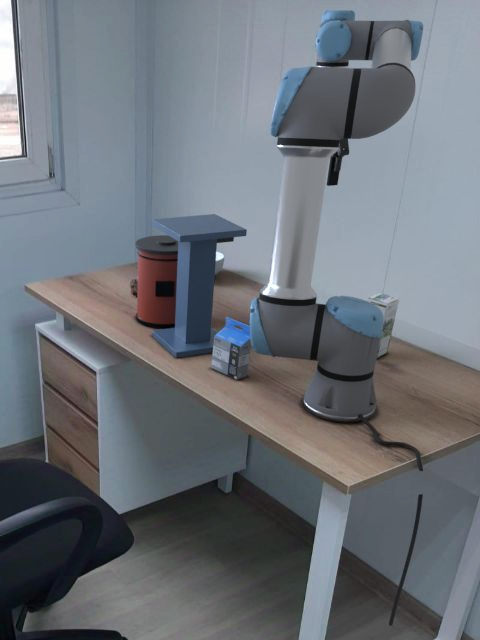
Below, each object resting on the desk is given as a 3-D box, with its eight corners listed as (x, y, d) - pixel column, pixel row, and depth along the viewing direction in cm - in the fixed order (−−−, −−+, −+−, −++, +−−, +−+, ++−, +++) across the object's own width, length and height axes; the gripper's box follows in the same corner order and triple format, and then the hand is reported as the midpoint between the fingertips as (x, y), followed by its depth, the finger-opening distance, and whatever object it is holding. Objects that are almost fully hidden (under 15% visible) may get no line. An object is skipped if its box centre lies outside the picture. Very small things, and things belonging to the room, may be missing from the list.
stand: (207, 327, 202) (214, 213, 186) (236, 350, 188) (246, 229, 172) (149, 335, 197) (152, 219, 181) (175, 359, 184) (180, 235, 168)
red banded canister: (192, 329, 201) (196, 255, 190) (135, 328, 201) (135, 254, 191) (190, 309, 214) (194, 239, 203) (137, 308, 215) (138, 238, 204)
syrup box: (367, 347, 190) (377, 291, 182) (388, 353, 186) (400, 297, 179) (355, 353, 187) (365, 297, 179) (376, 359, 183) (388, 302, 175)
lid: (149, 257, 188) (149, 248, 187) (126, 241, 201) (126, 232, 200) (245, 247, 196) (246, 238, 195) (218, 233, 209) (218, 224, 208)
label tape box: (210, 368, 179) (213, 319, 172) (222, 364, 181) (226, 316, 174) (236, 380, 173) (240, 330, 166) (248, 376, 175) (253, 326, 168)
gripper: (288, 82, 186) (278, 172, 197) (346, 91, 166) (332, 190, 177) (314, 82, 188) (303, 171, 199) (374, 90, 168) (358, 188, 179)
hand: (316, 180), depth 188 cm, fingers open, 13 cm apart
